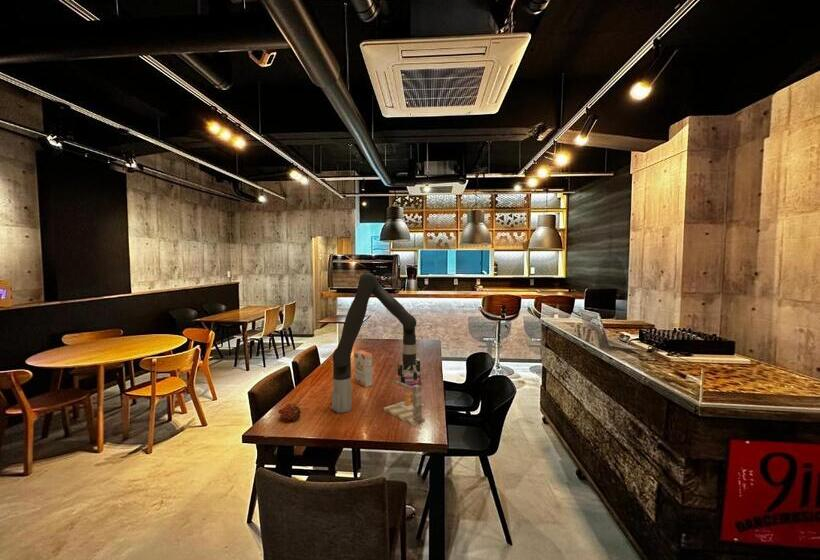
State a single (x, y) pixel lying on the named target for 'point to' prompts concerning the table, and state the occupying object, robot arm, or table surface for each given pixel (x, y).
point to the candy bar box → (409, 377)
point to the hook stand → (404, 414)
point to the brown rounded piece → (290, 412)
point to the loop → (408, 398)
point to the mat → (409, 408)
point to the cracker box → (363, 368)
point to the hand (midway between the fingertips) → (409, 381)
